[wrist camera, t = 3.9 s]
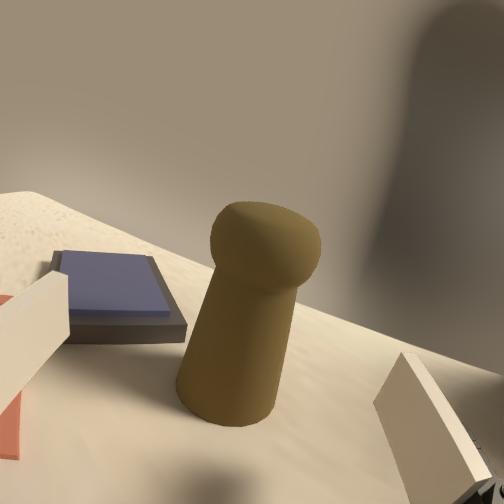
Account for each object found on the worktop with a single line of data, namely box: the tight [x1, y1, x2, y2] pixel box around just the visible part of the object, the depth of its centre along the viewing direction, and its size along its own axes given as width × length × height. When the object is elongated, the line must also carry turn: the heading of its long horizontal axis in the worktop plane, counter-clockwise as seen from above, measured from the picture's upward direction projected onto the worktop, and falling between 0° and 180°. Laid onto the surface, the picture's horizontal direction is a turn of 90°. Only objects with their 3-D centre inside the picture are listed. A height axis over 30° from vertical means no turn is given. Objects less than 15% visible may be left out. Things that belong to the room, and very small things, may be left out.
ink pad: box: [49, 250, 188, 344], centre depth 23 cm, size 12×10×2 cm
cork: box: [176, 202, 321, 427], centre depth 16 cm, size 6×6×11 cm
